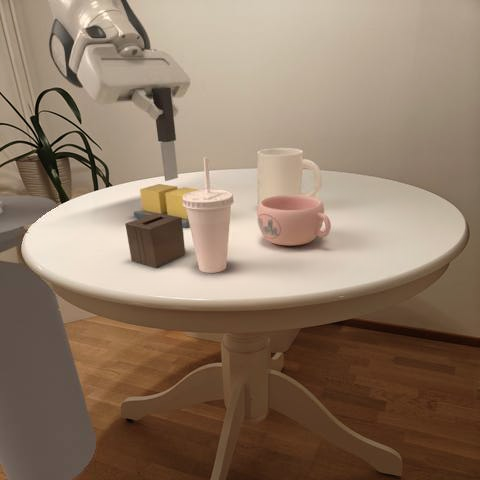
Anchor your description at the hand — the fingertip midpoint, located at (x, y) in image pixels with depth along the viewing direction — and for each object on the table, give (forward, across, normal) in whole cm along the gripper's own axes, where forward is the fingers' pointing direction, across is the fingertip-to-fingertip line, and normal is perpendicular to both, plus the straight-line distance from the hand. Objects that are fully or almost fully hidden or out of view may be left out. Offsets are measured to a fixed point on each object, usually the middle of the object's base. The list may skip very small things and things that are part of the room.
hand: (166, 115), depth 70 cm
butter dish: (+12, 0, -13) cm, 17 cm away
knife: (+7, 0, -8) cm, 10 cm away
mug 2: (+30, +1, +6) cm, 31 cm away
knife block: (+20, +17, -4) cm, 27 cm away
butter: (+12, 0, -13) cm, 17 cm away
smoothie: (+27, +16, +2) cm, 31 cm away
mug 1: (+23, -15, -2) cm, 28 cm away
